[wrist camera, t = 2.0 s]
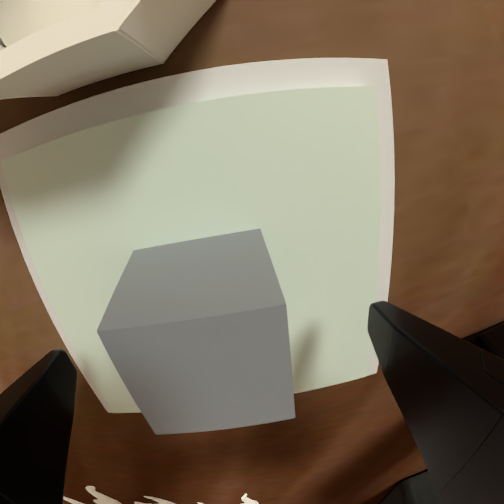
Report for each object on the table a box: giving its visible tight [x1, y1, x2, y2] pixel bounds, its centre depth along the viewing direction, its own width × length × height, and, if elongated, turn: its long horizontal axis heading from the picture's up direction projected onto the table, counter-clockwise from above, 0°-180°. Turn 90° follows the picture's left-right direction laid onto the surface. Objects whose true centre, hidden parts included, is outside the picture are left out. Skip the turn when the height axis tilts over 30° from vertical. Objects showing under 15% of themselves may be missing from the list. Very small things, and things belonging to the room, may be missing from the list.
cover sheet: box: [1, 87, 380, 435], centre depth 9 cm, size 12×12×5 cm
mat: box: [0, 58, 395, 413], centre depth 12 cm, size 14×14×1 cm
